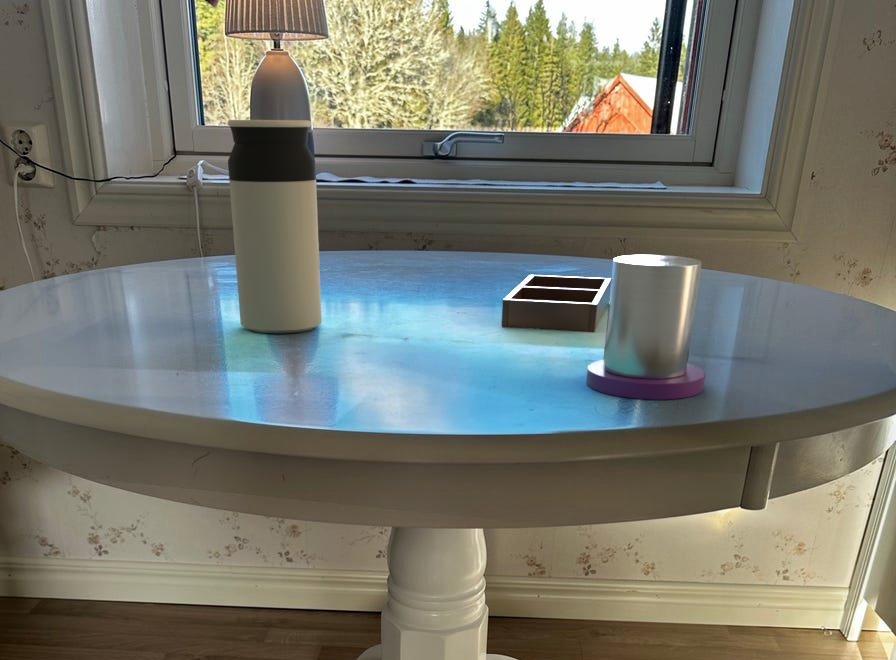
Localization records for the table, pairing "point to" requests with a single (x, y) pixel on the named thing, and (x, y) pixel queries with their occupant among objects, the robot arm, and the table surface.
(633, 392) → the purple lid
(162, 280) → the table surface
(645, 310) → the brushed metal canister
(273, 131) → the travel mug
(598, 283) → the divided storage tray
